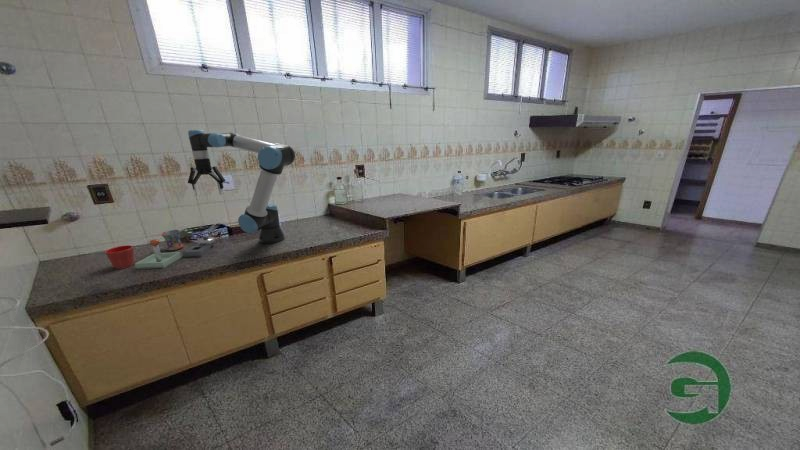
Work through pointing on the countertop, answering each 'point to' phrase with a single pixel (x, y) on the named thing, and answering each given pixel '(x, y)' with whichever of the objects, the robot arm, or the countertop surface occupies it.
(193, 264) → the countertop surface
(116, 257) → the flower pot
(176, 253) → the tray
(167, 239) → the mug
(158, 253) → the orange capped clear bottle
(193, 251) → the tensioner block
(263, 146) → the robot arm
